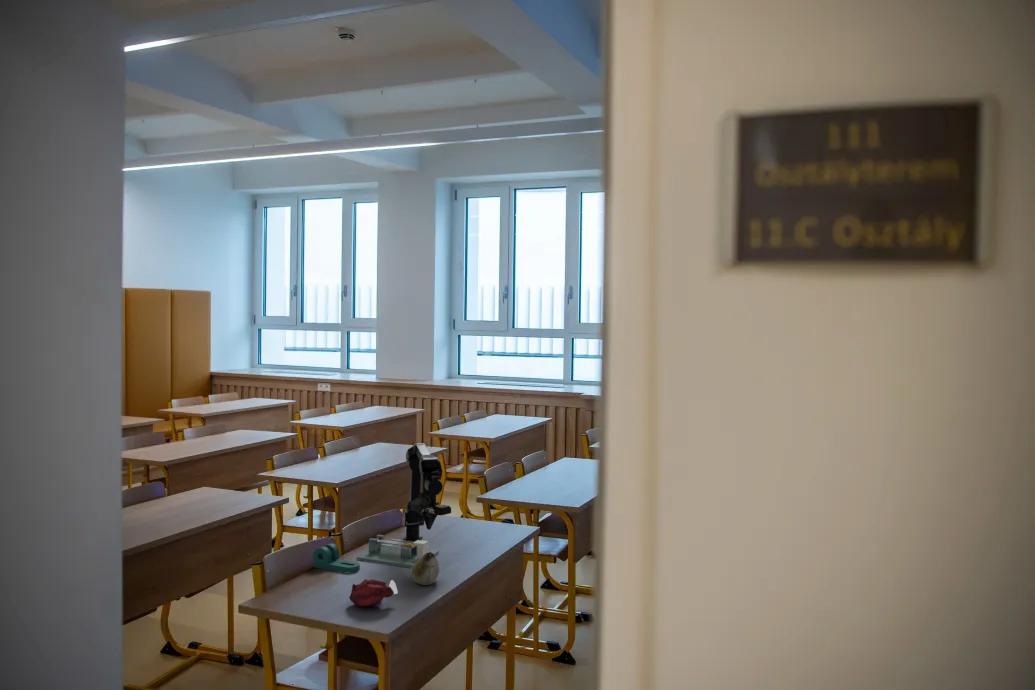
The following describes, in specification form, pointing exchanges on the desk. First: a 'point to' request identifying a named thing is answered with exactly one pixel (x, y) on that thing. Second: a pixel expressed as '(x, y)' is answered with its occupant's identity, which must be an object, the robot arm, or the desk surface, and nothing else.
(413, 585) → the desk surface
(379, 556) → the board
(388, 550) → the grey rail mechanism
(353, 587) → the red meat drumstick
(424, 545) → the white block
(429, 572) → the fruit
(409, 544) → the gold-ended metal bar
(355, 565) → the bracket
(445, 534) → the desk surface
